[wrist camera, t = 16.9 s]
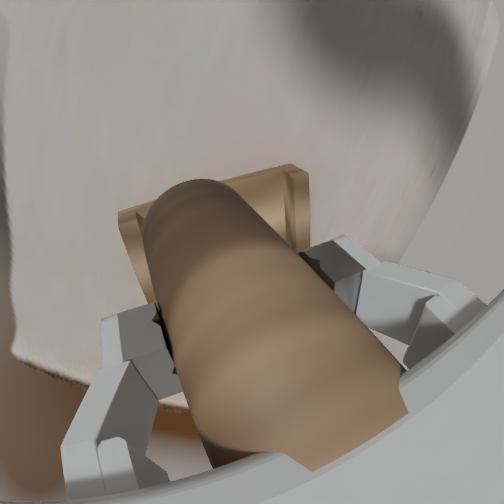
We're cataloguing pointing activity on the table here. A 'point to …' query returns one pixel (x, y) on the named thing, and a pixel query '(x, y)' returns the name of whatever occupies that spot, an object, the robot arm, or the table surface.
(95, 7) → the table surface
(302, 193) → the rack
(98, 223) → the table surface
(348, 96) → the table surface
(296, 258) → the dowel
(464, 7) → the table surface
